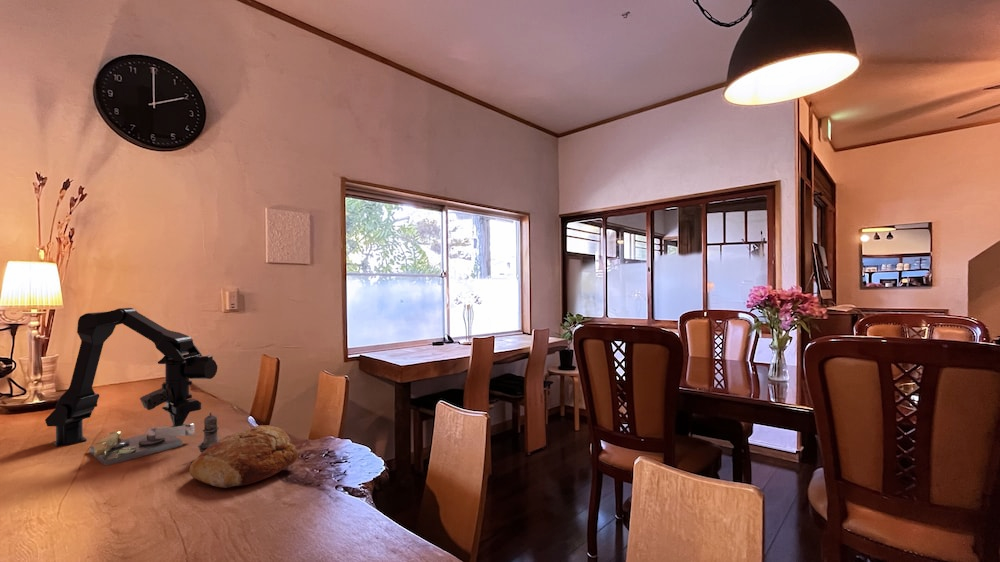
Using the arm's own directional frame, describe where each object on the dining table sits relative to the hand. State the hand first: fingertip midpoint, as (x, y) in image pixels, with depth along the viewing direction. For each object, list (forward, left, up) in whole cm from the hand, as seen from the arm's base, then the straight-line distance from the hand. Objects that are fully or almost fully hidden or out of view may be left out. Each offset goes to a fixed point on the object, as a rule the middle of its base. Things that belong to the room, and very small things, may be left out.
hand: (177, 430), depth 130 cm
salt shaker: (+21, +1, -3) cm, 22 cm away
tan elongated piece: (-6, -13, -2) cm, 14 cm away
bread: (+38, +1, -4) cm, 39 cm away
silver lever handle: (-1, -6, -2) cm, 6 cm away
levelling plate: (-3, -9, -3) cm, 10 cm away
